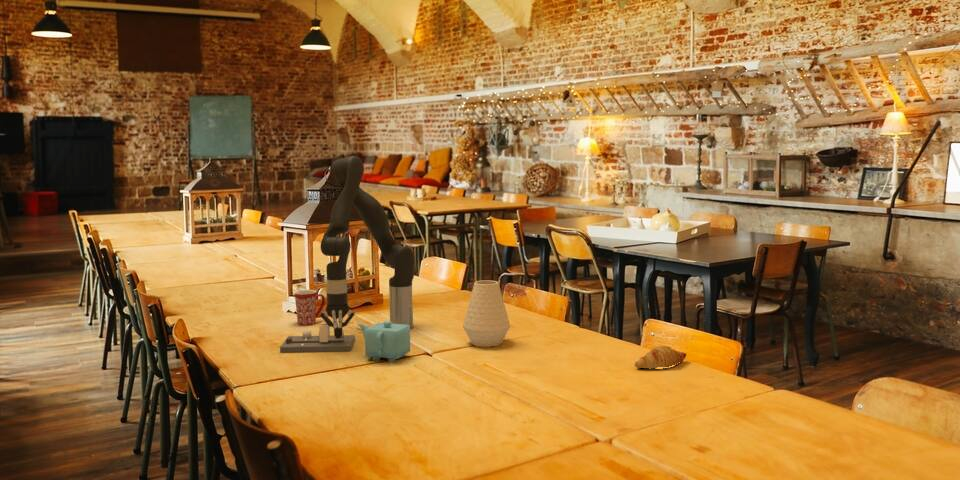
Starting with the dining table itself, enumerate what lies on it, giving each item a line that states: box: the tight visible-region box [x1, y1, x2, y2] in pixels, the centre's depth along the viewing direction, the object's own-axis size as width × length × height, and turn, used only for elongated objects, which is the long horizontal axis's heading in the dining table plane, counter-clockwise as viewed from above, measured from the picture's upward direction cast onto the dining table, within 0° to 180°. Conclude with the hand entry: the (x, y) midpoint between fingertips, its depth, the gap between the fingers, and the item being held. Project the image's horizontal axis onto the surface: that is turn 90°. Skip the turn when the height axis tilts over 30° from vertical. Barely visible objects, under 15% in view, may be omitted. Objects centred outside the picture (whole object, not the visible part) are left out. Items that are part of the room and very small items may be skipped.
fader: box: [318, 322, 331, 342], centre depth 293 cm, size 3×5×6 cm, turn 3°
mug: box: [293, 289, 326, 327], centre depth 331 cm, size 13×9×14 cm
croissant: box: [634, 345, 687, 369], centre depth 267 cm, size 21×10×8 cm, turn 118°
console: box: [279, 329, 356, 354], centre depth 295 cm, size 25×16×4 cm, turn 93°
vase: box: [462, 279, 511, 348], centre depth 296 cm, size 18×17×23 cm
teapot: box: [356, 320, 411, 363], centre depth 279 cm, size 18×16×13 cm
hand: (338, 337), depth 293 cm, fingers closed
